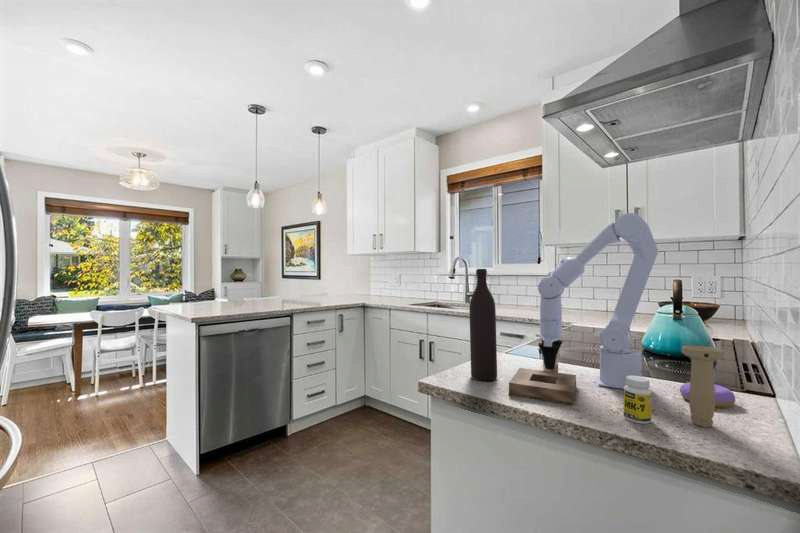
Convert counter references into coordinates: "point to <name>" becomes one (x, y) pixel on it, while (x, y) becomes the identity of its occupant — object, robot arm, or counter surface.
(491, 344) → the wine bottle
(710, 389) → the handle
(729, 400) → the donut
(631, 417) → the supplement bottle
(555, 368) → the peg
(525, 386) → the socket block
